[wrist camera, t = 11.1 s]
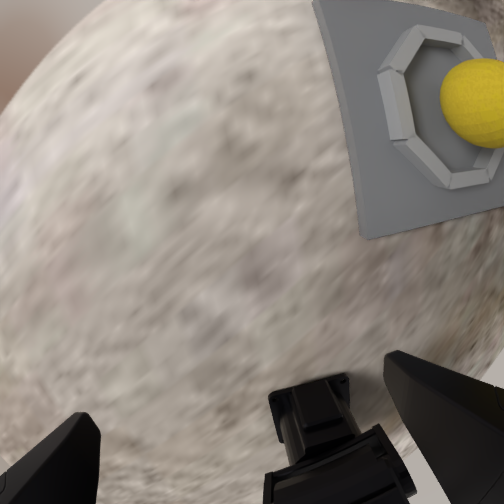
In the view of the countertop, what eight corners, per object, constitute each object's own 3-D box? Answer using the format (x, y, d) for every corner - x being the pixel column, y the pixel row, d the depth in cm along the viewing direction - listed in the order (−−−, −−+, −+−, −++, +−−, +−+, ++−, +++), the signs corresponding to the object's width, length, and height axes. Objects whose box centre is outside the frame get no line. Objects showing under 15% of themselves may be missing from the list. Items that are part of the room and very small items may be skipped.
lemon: (471, 83, 16) (551, 71, 8) (472, 153, 18) (557, 162, 10) (415, 60, 15) (499, 31, 8) (416, 138, 17) (509, 138, 9)
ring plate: (507, 200, 20) (528, 205, 18) (359, 235, 20) (378, 246, 17) (476, 26, 16) (496, 19, 13) (311, 2, 15) (324, -16, 12)
